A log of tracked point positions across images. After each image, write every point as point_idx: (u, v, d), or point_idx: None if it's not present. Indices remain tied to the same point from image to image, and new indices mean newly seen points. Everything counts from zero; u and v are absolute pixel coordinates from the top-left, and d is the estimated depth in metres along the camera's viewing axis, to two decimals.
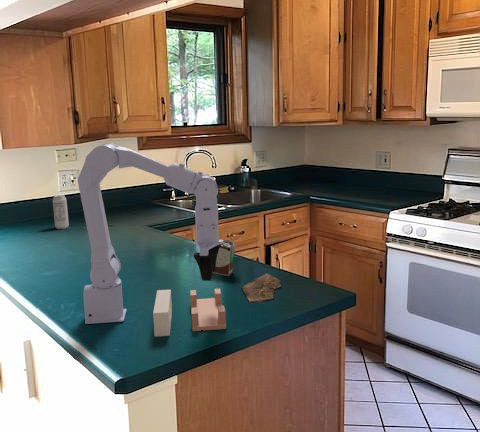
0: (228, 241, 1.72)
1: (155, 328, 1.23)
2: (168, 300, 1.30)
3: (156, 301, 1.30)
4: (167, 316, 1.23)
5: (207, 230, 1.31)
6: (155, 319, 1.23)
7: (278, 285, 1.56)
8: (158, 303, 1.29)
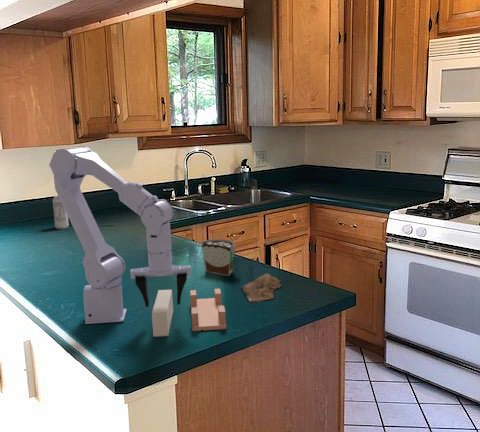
0: (228, 241, 1.72)
1: (154, 328, 1.23)
2: (168, 300, 1.30)
3: (156, 301, 1.30)
4: (166, 316, 1.23)
5: (148, 256, 1.27)
6: (154, 319, 1.23)
7: (278, 285, 1.56)
8: (158, 303, 1.29)
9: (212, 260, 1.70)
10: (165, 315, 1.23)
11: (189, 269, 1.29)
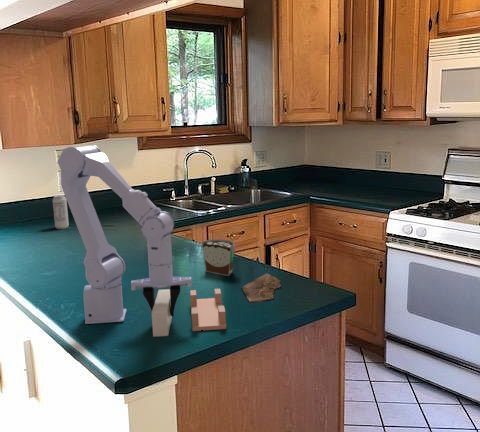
0: (228, 241, 1.72)
1: (153, 327, 1.23)
2: (168, 300, 1.30)
3: (156, 300, 1.30)
4: (165, 316, 1.23)
5: None
6: (153, 318, 1.23)
7: (278, 285, 1.56)
8: (158, 303, 1.29)
9: (212, 260, 1.70)
10: (165, 315, 1.23)
11: (189, 281, 1.29)
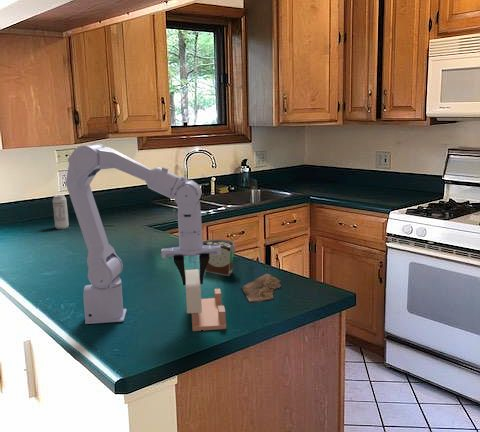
0: (228, 241, 1.72)
1: (187, 304, 1.25)
2: (198, 278, 1.32)
3: (186, 279, 1.32)
4: (199, 292, 1.25)
5: None
6: (188, 295, 1.25)
7: (278, 285, 1.56)
8: (189, 281, 1.30)
9: (212, 260, 1.70)
10: (199, 291, 1.25)
11: (219, 249, 1.31)
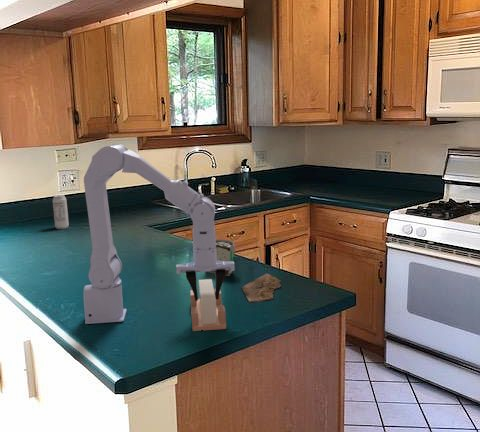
0: (228, 241, 1.72)
1: (203, 315, 1.27)
2: (212, 289, 1.34)
3: (201, 290, 1.34)
4: (214, 303, 1.27)
5: (193, 252, 1.32)
6: (203, 306, 1.27)
7: (278, 285, 1.56)
8: (203, 292, 1.32)
9: None
10: (214, 302, 1.27)
11: (233, 265, 1.33)
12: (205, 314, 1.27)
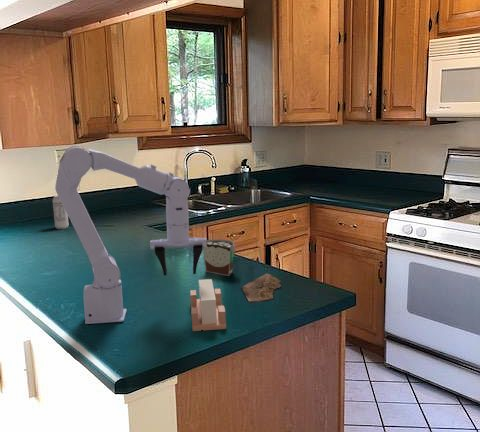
0: (228, 241, 1.72)
1: (203, 315, 1.27)
2: (212, 289, 1.34)
3: (201, 290, 1.34)
4: (214, 303, 1.27)
5: None
6: (203, 306, 1.27)
7: (278, 285, 1.56)
8: (203, 292, 1.32)
9: (212, 260, 1.70)
10: (214, 302, 1.27)
11: (205, 241, 1.38)
12: (205, 314, 1.27)
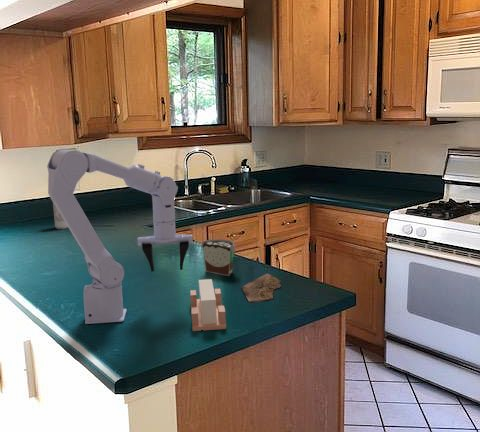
0: (228, 241, 1.72)
1: (203, 315, 1.27)
2: (212, 289, 1.34)
3: (201, 290, 1.34)
4: (214, 303, 1.27)
5: None
6: (203, 306, 1.27)
7: (278, 285, 1.56)
8: (203, 292, 1.32)
9: (212, 260, 1.70)
10: (214, 302, 1.27)
11: (191, 237, 1.42)
12: (205, 314, 1.27)
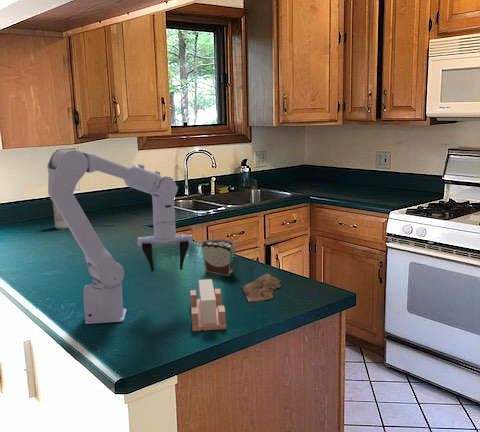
0: (228, 241, 1.72)
1: (203, 315, 1.27)
2: (212, 289, 1.34)
3: (201, 290, 1.34)
4: (214, 303, 1.27)
5: None
6: (203, 306, 1.27)
7: (278, 285, 1.56)
8: (203, 292, 1.32)
9: (212, 260, 1.70)
10: (214, 302, 1.27)
11: (191, 237, 1.42)
12: (205, 314, 1.27)
